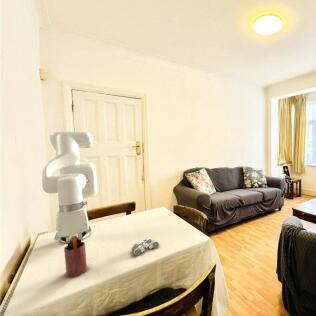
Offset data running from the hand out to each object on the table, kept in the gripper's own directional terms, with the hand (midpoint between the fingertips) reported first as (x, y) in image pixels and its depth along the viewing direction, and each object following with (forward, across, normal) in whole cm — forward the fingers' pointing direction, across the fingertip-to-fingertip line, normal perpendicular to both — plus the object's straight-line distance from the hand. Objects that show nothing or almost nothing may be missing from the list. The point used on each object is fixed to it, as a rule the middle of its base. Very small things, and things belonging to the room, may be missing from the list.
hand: (75, 249), depth 84 cm
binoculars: (+10, -27, 0) cm, 29 cm away
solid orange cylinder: (+7, 0, 0) cm, 7 cm away
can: (+10, 0, 0) cm, 10 cm away
